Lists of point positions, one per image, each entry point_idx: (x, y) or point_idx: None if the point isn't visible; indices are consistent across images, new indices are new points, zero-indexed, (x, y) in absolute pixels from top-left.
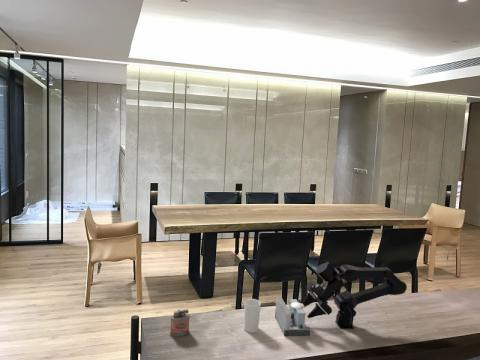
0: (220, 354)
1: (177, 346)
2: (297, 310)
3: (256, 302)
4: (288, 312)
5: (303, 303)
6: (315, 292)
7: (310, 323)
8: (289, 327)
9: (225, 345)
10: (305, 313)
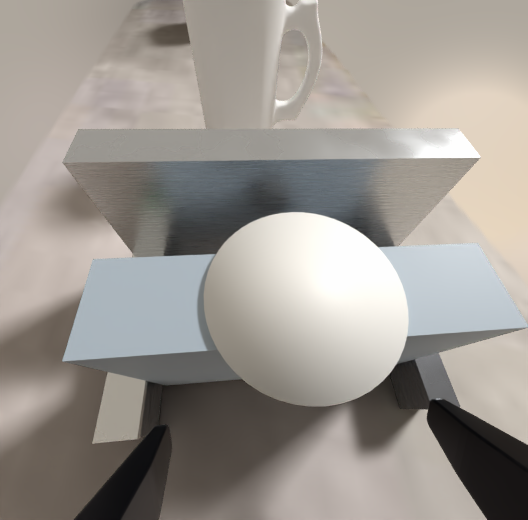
0: (94, 72)
1: (160, 24)
2: (167, 260)
3: (272, 10)
4: (102, 148)
5: (484, 444)
6: None
7: (336, 509)
8: (131, 248)
9: (140, 83)
10: (65, 361)
